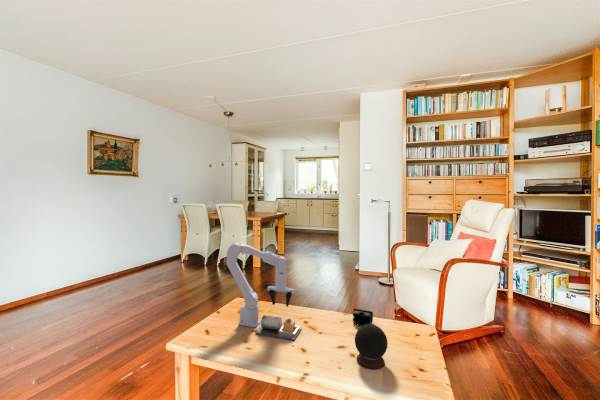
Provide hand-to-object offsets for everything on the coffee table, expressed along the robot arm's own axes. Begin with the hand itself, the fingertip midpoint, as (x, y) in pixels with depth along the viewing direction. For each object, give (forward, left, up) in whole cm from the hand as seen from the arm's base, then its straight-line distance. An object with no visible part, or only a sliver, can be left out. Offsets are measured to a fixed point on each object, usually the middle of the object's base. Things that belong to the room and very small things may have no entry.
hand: (280, 305), depth 154 cm
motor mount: (+3, -10, -9) cm, 14 cm away
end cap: (+42, +14, -10) cm, 45 cm away
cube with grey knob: (+8, -10, -8) cm, 16 cm away
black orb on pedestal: (+48, -22, -10) cm, 54 cm away
